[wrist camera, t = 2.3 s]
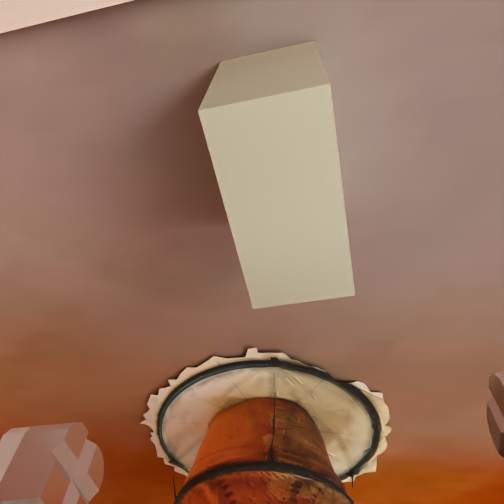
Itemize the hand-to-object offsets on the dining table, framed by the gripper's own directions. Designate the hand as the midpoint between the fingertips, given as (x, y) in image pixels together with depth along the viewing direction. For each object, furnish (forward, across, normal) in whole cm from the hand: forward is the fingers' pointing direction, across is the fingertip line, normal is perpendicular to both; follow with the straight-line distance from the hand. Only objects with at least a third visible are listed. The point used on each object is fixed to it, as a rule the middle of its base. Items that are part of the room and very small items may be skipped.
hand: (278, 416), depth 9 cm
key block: (+15, 0, 0) cm, 15 cm away
